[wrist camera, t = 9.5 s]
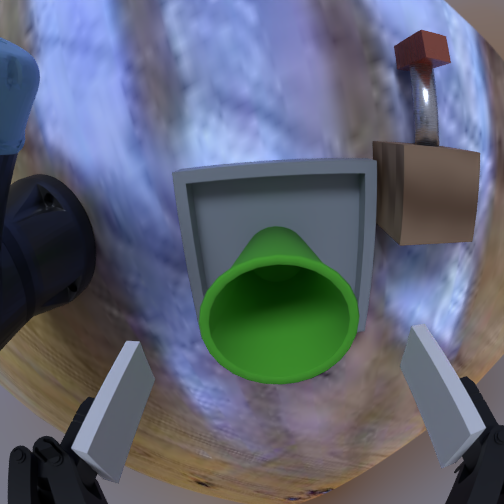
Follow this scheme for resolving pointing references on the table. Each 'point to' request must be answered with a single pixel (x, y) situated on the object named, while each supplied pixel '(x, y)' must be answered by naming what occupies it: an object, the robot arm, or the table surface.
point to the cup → (278, 312)
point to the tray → (279, 215)
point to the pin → (423, 80)
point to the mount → (426, 192)
